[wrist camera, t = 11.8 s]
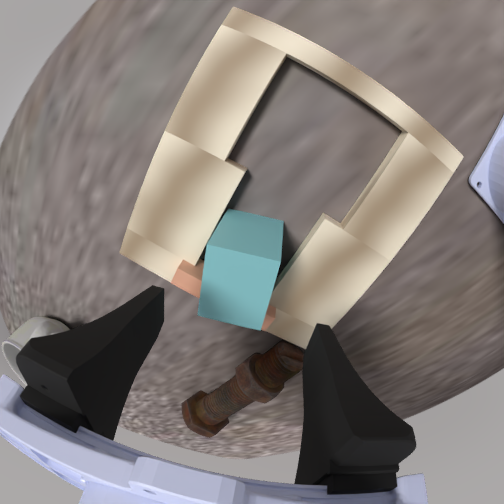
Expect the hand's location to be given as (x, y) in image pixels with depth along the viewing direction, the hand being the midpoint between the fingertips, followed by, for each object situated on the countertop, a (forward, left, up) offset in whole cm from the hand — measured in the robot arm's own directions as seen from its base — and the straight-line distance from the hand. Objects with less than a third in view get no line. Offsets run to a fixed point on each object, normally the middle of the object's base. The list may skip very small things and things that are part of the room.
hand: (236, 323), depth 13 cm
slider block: (0, +1, -10) cm, 10 cm away
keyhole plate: (0, -4, -9) cm, 10 cm away
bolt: (-6, +14, -10) cm, 18 cm away
